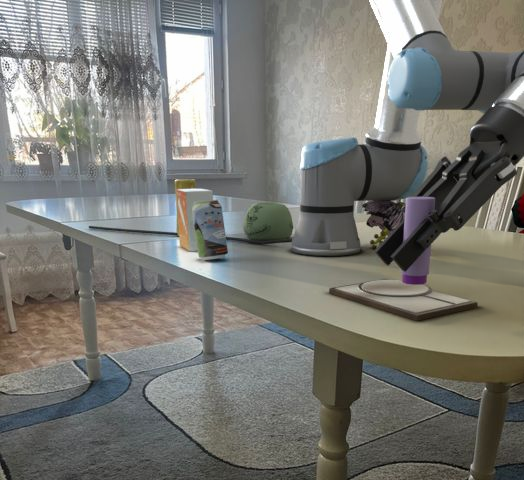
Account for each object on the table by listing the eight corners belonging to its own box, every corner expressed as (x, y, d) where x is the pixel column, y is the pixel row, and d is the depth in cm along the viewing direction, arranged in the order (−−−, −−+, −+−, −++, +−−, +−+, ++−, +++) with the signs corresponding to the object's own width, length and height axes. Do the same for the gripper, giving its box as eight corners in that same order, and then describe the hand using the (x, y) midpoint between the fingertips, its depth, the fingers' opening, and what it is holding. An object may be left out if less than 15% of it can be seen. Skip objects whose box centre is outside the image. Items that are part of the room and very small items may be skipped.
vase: (180, 233, 148) (176, 179, 144) (201, 234, 148) (199, 179, 143) (173, 237, 143) (170, 180, 138) (196, 237, 142) (193, 180, 137)
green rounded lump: (303, 239, 137) (304, 203, 135) (260, 243, 131) (259, 206, 128) (269, 232, 150) (269, 199, 147) (228, 235, 144) (227, 202, 141)
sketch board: (328, 293, 84) (329, 286, 84) (391, 282, 91) (392, 275, 90) (417, 321, 70) (417, 312, 69) (484, 305, 77) (485, 298, 76)
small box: (179, 246, 128) (175, 189, 124) (205, 244, 130) (202, 188, 126) (188, 251, 121) (185, 191, 117) (215, 249, 123) (213, 190, 119)
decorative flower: (433, 204, 113) (364, 187, 116) (416, 258, 115) (348, 240, 118) (429, 213, 127) (367, 198, 130) (413, 262, 129) (353, 245, 132)
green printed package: (216, 263, 107) (214, 201, 103) (187, 260, 111) (184, 199, 107) (234, 258, 112) (233, 198, 108) (206, 255, 116) (203, 197, 112)
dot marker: (394, 281, 74) (400, 197, 70) (413, 278, 75) (419, 196, 72) (414, 286, 71) (421, 199, 67) (433, 282, 73) (441, 197, 69)
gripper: (577, 146, 64) (442, 293, 65) (484, 148, 79) (375, 268, 80) (549, 95, 61) (407, 252, 62) (457, 108, 76) (344, 233, 77)
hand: (389, 261), depth 71 cm, fingers closed on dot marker, 4 cm apart
